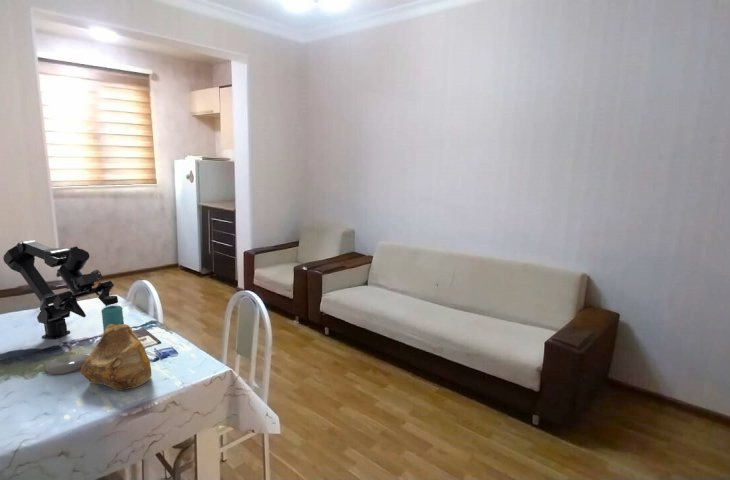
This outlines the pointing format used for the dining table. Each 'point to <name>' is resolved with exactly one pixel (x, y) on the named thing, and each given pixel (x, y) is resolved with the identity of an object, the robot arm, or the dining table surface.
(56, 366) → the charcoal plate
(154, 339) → the chocolate bar
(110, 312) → the beverage bottle
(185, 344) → the dining table surface
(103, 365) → the rough brown rock
